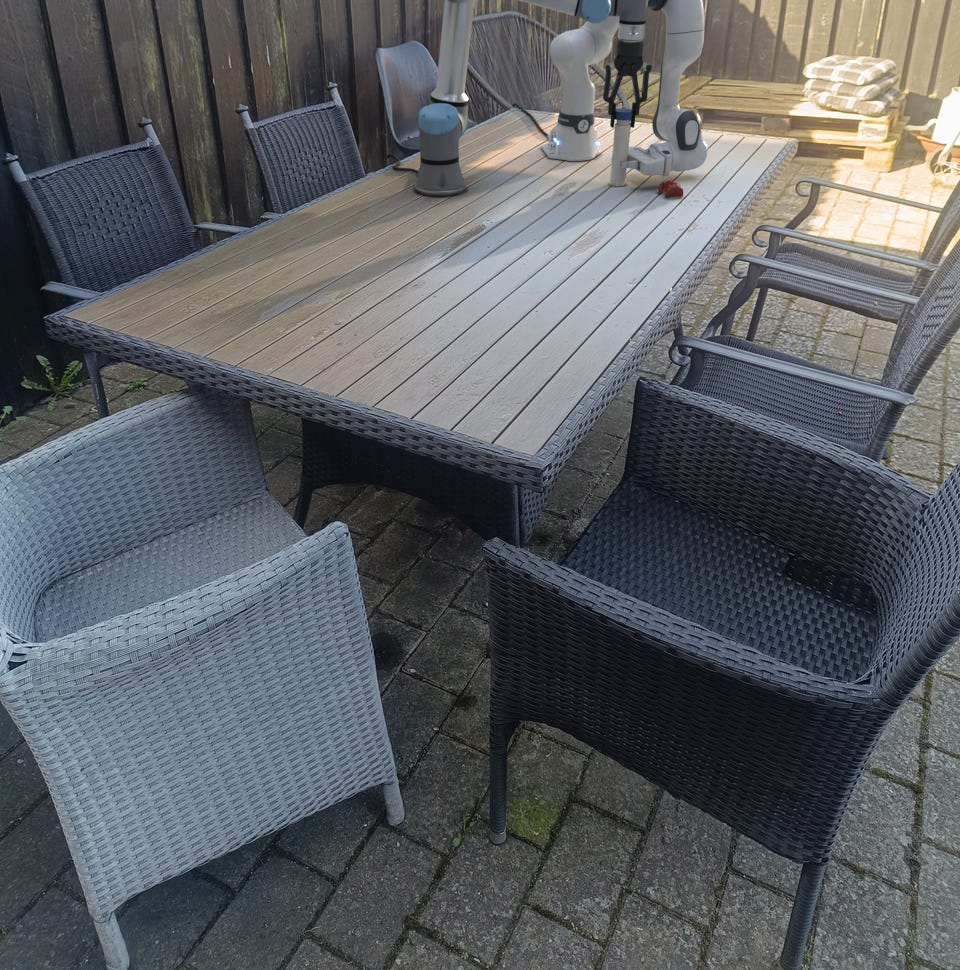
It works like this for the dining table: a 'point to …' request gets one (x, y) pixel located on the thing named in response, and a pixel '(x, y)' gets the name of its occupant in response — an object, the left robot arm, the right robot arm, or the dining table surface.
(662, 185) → the dental model
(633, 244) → the dining table surface
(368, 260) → the dining table surface
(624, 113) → the lid
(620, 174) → the white cylinder
